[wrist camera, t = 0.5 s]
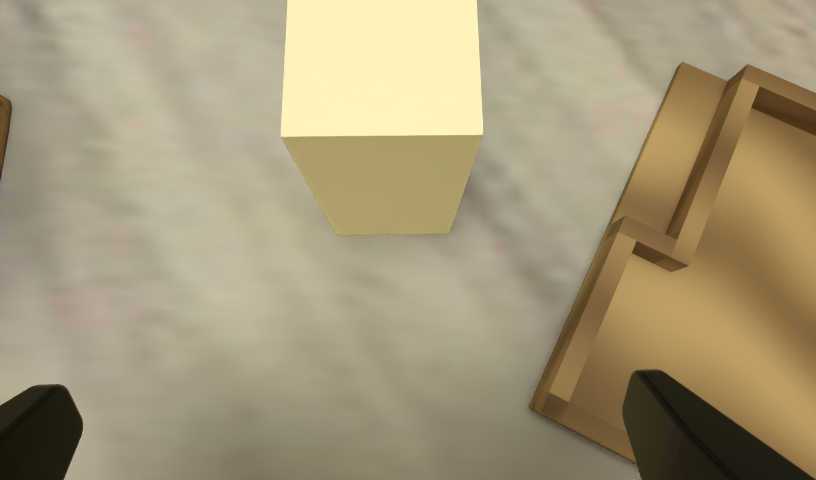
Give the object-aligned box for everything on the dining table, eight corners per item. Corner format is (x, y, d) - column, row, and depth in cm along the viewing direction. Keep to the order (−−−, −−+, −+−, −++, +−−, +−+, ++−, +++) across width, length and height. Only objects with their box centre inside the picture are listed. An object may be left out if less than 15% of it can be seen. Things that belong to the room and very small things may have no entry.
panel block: (449, 233, 22) (483, 135, 12) (336, 235, 22) (280, 136, 12) (446, 150, 23) (476, -5, 13) (338, 151, 23) (288, -3, 13)
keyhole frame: (830, 566, 19) (873, 587, 17) (528, 407, 20) (540, 411, 18) (939, 180, 23) (984, 165, 21) (677, 66, 24) (699, 43, 22)
